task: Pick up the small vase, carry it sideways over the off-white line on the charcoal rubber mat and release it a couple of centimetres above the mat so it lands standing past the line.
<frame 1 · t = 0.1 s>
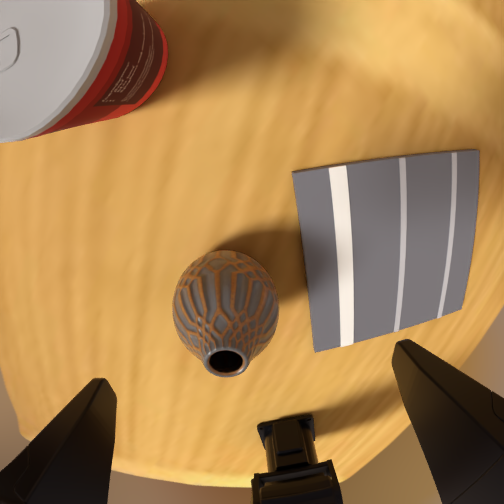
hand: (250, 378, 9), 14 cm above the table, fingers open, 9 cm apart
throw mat: (399, 253, 24), on the table
vase: (225, 277, 24), on the table
canned food: (113, 64, 17), on the table
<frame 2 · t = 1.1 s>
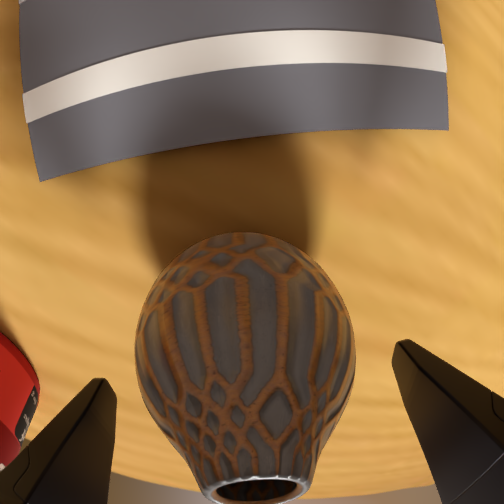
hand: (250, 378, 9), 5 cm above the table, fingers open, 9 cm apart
vase: (239, 284, 13), on the table
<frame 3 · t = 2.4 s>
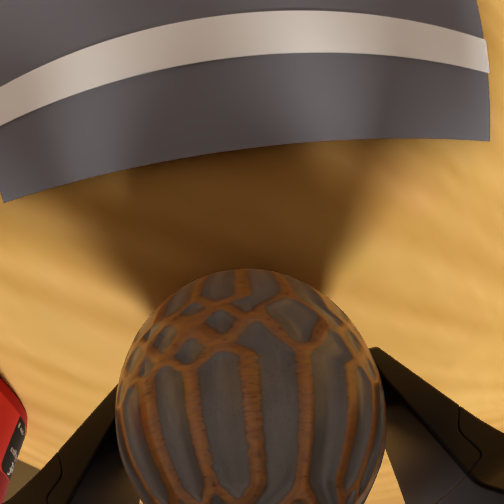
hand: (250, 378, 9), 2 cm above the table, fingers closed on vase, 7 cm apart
vase: (242, 321, 11), on the table, touching gripper
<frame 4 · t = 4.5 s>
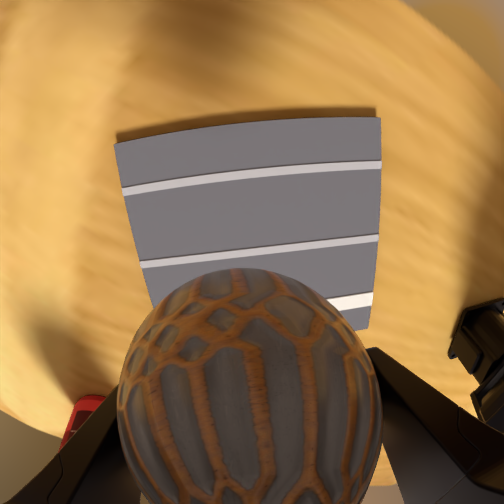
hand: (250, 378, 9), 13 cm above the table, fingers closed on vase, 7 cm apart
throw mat: (260, 246, 21), on the table
vase: (235, 321, 11), point 10 cm above the table, touching gripper
canned food: (108, 414, 29), on the table
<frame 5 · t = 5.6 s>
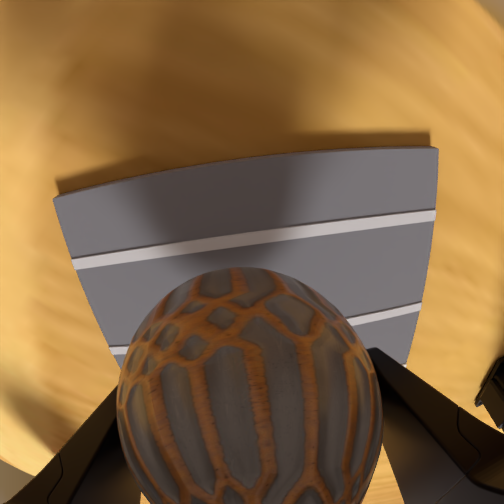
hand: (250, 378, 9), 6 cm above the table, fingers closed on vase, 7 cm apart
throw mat: (267, 327, 15), on the table
vase: (234, 320, 11), point 3 cm above the table, touching gripper
when the fingers open (5 cm above the table, at t = 6.7 s): vase drops 1 cm, resting on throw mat.
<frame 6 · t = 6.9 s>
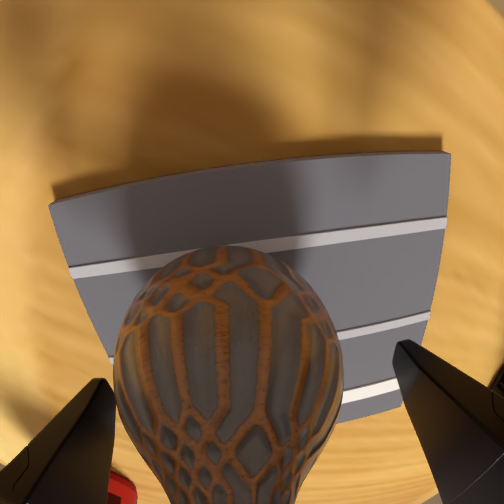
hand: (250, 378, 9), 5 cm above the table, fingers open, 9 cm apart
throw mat: (272, 337, 15), on the table
vase: (226, 296, 13), resting on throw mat
canned food: (101, 477, 23), on the table
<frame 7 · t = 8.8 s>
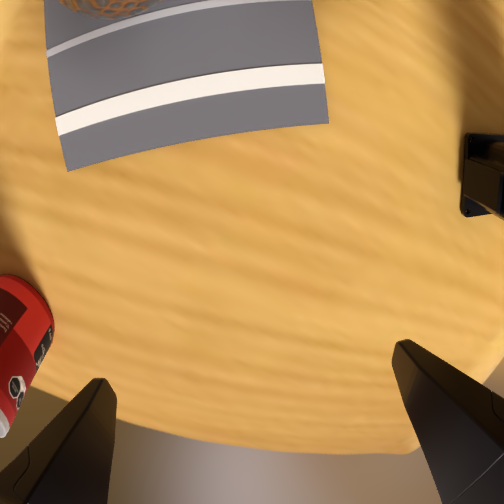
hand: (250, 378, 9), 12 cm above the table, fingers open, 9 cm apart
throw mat: (171, 14, 14), on the table
canned food: (22, 309, 22), on the table
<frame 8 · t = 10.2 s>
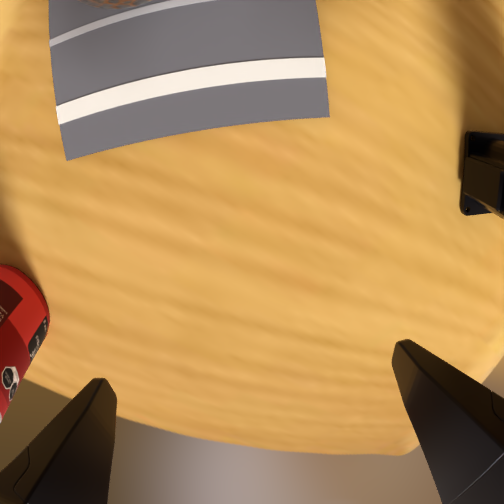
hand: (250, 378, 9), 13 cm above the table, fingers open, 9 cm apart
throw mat: (174, 6, 14), on the table
canned food: (18, 300, 22), on the table
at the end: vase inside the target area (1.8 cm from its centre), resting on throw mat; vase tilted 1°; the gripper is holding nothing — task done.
